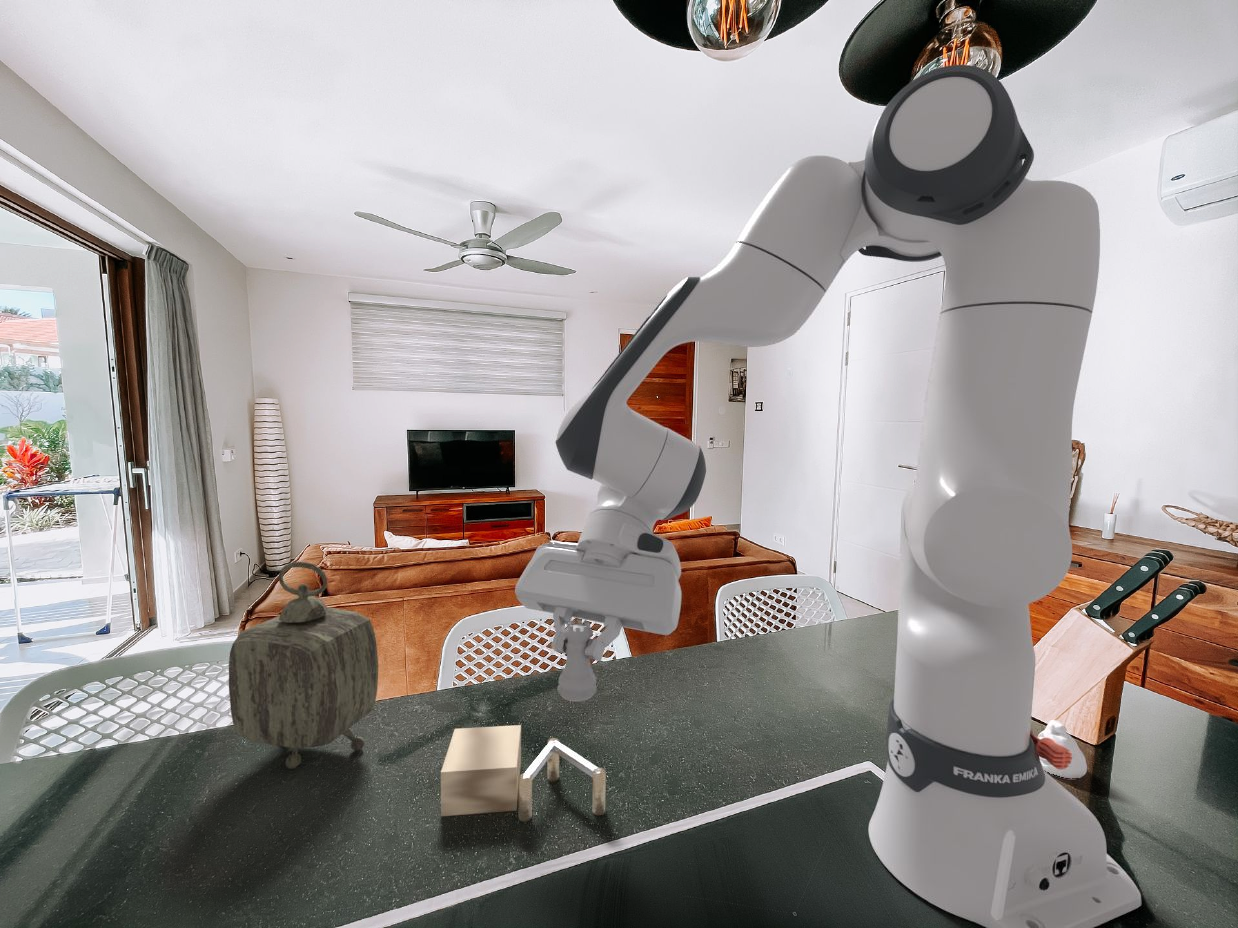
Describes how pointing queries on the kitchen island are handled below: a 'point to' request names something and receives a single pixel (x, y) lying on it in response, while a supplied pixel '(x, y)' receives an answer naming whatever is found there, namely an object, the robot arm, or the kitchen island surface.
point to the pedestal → (481, 771)
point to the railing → (552, 759)
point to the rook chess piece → (577, 664)
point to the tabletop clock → (303, 673)
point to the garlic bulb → (1060, 737)
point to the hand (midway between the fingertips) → (575, 654)
